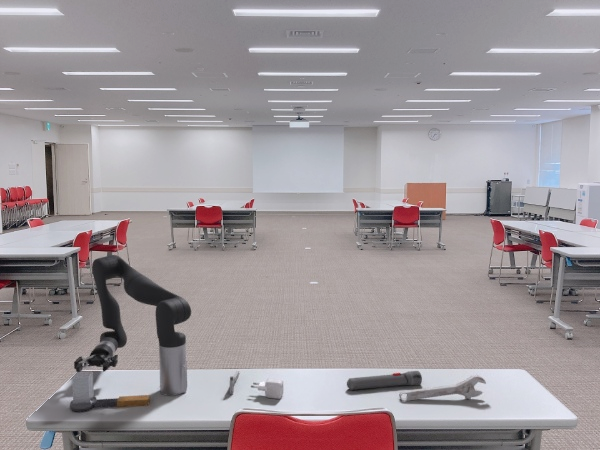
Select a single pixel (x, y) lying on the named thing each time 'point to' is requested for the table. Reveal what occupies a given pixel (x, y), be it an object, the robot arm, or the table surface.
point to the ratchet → (112, 403)
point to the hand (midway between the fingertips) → (91, 369)
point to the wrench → (447, 390)
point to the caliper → (233, 382)
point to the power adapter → (271, 388)
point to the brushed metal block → (82, 388)
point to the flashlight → (385, 380)
